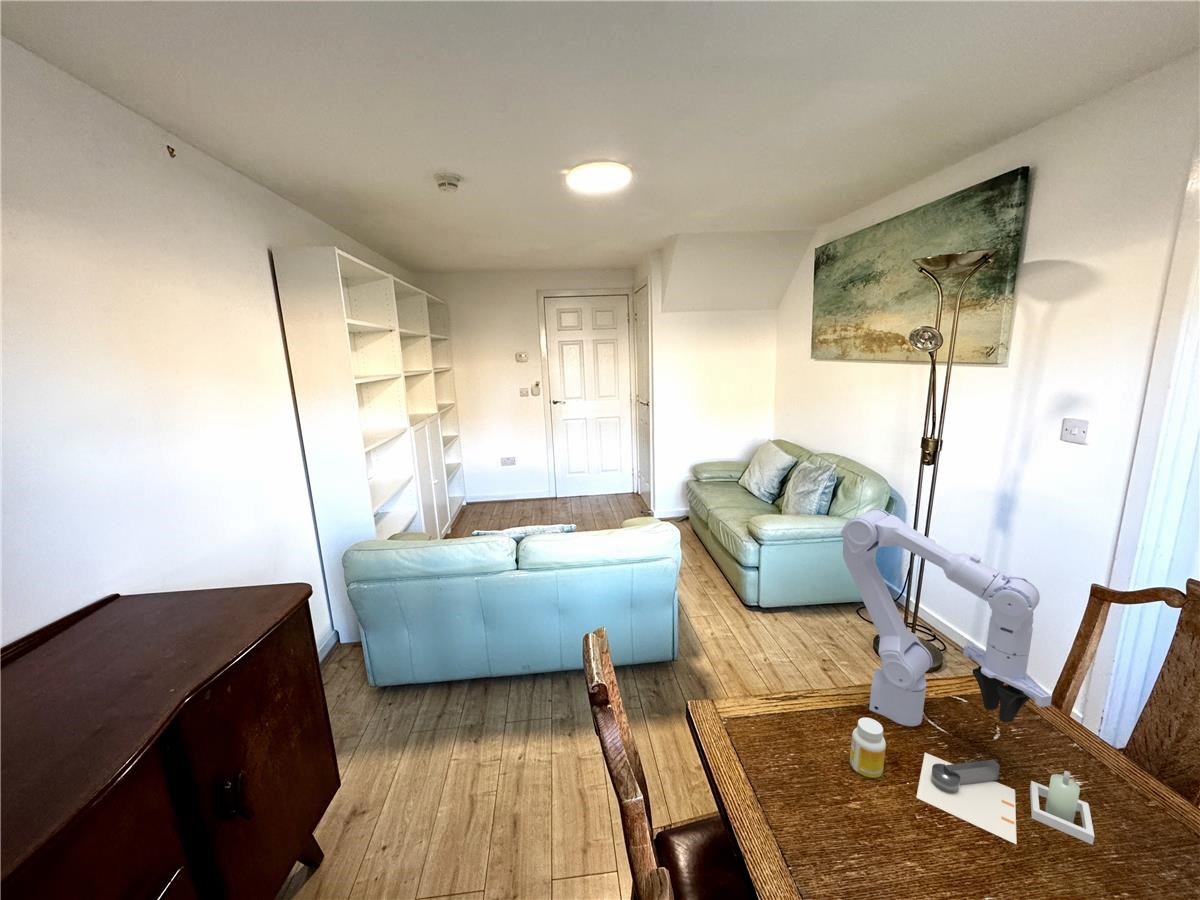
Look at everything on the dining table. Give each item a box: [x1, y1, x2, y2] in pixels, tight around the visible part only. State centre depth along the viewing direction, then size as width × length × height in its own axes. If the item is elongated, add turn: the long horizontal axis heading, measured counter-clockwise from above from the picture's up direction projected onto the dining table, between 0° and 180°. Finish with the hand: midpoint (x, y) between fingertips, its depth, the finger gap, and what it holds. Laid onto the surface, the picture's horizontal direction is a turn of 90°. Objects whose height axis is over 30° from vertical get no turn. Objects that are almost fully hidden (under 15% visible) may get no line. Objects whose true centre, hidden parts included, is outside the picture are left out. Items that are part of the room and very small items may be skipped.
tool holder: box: [1029, 780, 1096, 846], centre depth 79 cm, size 7×7×2 cm
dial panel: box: [915, 752, 1017, 845], centre depth 83 cm, size 13×12×1 cm
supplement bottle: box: [849, 717, 887, 779], centre depth 88 cm, size 5×5×10 cm
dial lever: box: [931, 759, 1001, 793], centre depth 85 cm, size 12×4×3 cm, turn 96°
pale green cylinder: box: [1044, 770, 1081, 824], centre depth 78 cm, size 3×3×9 cm
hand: (998, 714), depth 88 cm, fingers open, 2 cm apart
